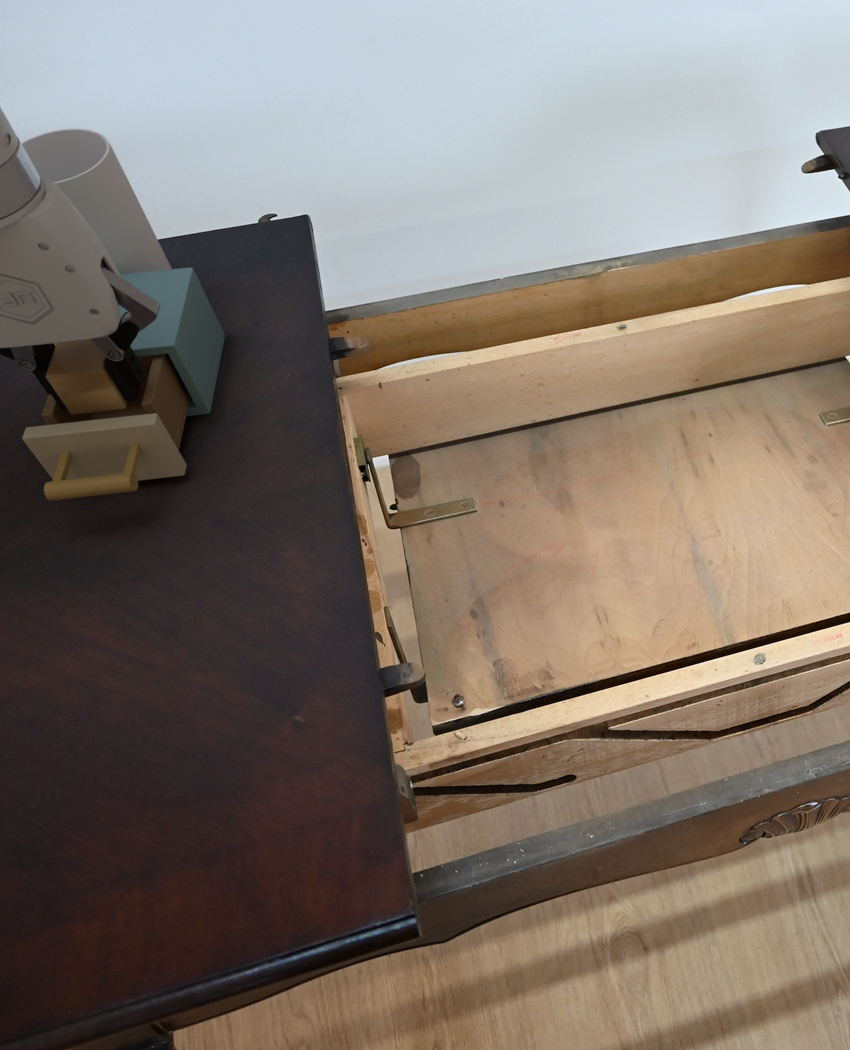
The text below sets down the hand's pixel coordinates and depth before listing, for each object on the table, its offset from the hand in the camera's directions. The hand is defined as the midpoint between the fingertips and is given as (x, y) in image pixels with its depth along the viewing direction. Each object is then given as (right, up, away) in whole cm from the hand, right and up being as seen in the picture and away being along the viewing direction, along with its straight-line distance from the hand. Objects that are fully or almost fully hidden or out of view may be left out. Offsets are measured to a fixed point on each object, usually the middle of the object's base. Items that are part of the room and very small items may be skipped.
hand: (102, 391), depth 79 cm
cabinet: (-1, +2, +10) cm, 11 cm away
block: (0, 0, 0) cm, 0 cm away
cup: (-6, +9, +16) cm, 19 cm away
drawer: (0, -5, +3) cm, 6 cm away
